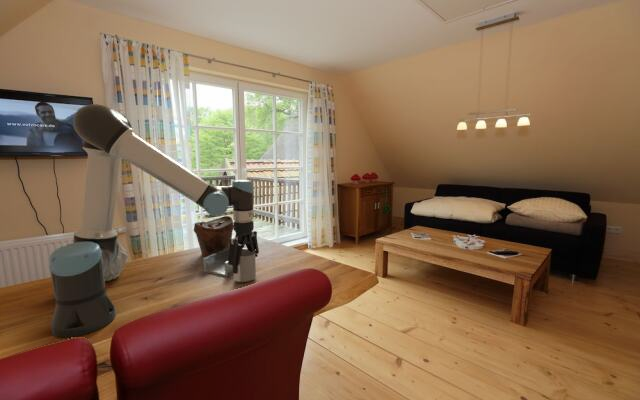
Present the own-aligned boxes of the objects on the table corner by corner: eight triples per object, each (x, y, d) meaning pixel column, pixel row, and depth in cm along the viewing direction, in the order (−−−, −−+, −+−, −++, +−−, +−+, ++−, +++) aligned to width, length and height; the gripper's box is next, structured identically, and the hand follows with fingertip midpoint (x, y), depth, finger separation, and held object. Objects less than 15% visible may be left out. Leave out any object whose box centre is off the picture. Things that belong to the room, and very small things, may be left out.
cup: (229, 279, 116) (228, 255, 114) (241, 271, 124) (240, 248, 122) (248, 283, 114) (248, 257, 112) (259, 274, 121) (259, 251, 120)
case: (186, 259, 140) (184, 222, 137) (209, 246, 160) (207, 213, 157) (221, 262, 137) (220, 224, 134) (240, 248, 157) (239, 215, 154)
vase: (89, 273, 125) (84, 230, 122) (134, 267, 131) (130, 226, 128) (74, 290, 110) (66, 241, 107) (125, 283, 116) (120, 237, 113)
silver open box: (227, 277, 122) (226, 263, 121) (204, 271, 127) (203, 258, 126) (254, 262, 138) (253, 249, 137) (232, 257, 143) (232, 245, 142)
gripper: (232, 227, 104) (234, 289, 107) (267, 216, 123) (267, 268, 127) (215, 225, 107) (218, 284, 111) (252, 214, 126) (253, 265, 130)
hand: (244, 276), depth 119 cm, fingers closed on cup, 8 cm apart
